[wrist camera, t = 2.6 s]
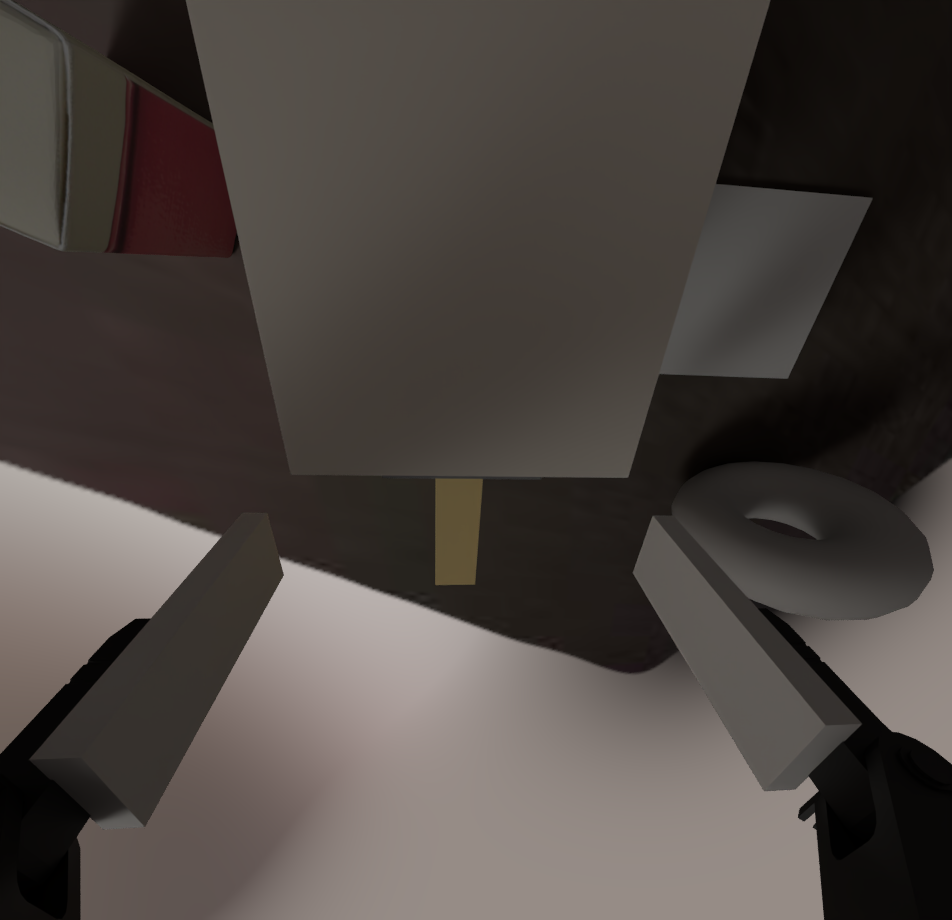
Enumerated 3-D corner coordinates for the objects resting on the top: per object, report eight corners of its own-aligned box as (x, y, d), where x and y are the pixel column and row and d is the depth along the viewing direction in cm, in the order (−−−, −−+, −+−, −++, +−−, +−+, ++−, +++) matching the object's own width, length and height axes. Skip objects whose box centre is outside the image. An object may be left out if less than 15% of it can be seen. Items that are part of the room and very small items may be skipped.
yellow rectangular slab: (438, 480, 21) (435, 585, 14) (440, 274, 16) (435, 281, 9) (465, 481, 22) (475, 584, 15) (475, 276, 16) (496, 284, 9)
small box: (97, 194, 14) (-244, 124, 7) (102, 58, 12) (-340, -209, 5) (235, 262, 15) (63, 259, 8) (257, 149, 14) (64, 29, 7)
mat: (570, 368, 19) (572, 370, 18) (604, 176, 15) (609, 174, 15) (781, 376, 20) (787, 378, 19) (863, 199, 16) (872, 197, 16)
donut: (636, 511, 24) (749, 656, 15) (640, 466, 22) (770, 600, 13) (786, 486, 24) (989, 617, 15) (802, 439, 22) (1040, 556, 13)
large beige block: (376, 377, 18) (297, 503, 8) (347, 3, 12) (-42, -1031, 2) (531, 382, 19) (620, 504, 9) (576, 31, 13) (974, -681, 3)
